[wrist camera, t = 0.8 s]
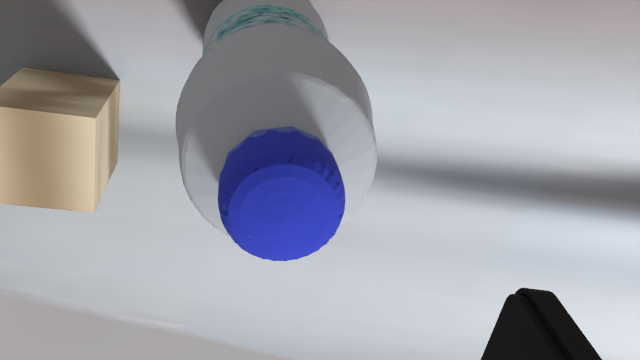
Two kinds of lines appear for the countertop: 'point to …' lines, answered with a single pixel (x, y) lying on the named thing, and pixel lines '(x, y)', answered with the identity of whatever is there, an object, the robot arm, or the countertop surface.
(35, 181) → the block
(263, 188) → the bottle
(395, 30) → the countertop surface
